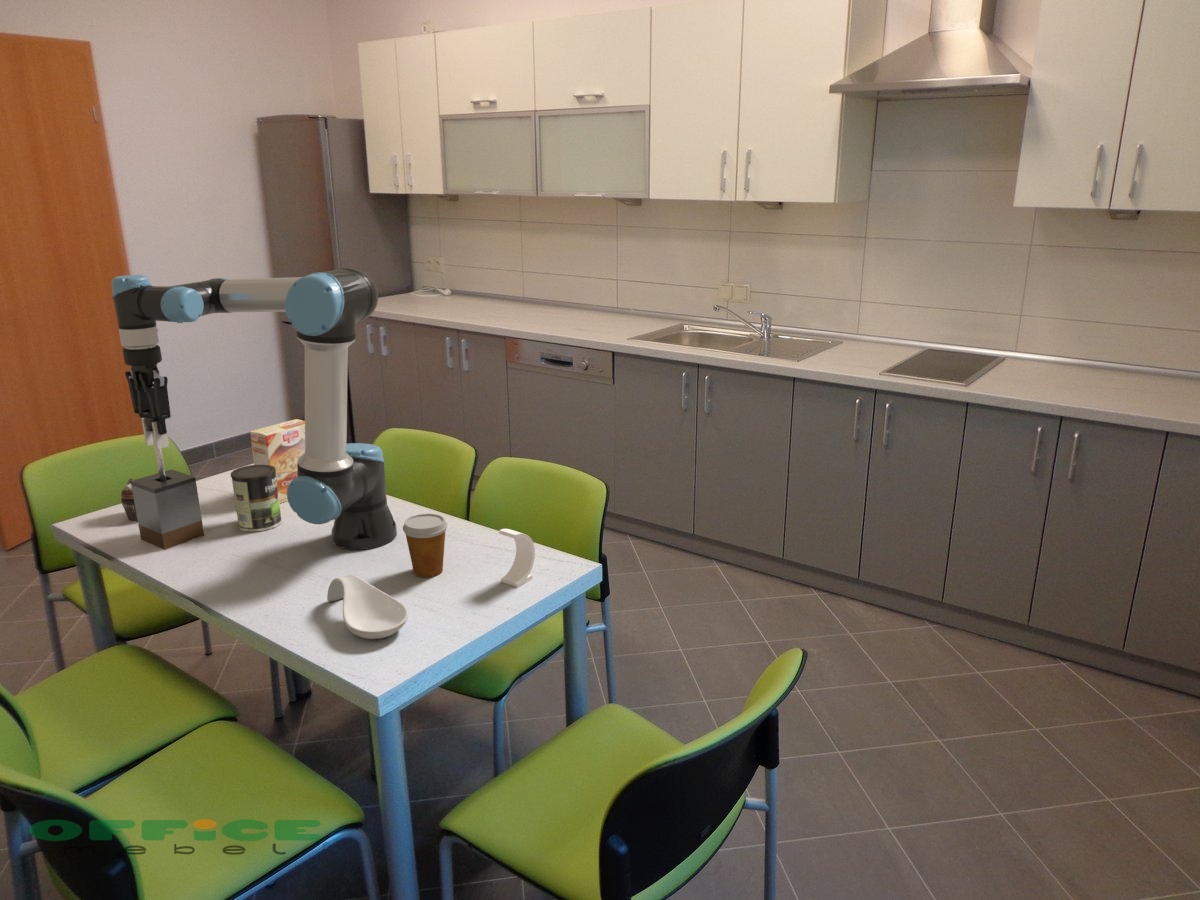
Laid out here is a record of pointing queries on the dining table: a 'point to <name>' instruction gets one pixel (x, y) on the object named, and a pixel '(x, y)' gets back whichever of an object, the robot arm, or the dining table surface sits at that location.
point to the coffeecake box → (280, 451)
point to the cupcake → (129, 502)
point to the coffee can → (256, 497)
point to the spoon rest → (367, 608)
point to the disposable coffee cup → (426, 543)
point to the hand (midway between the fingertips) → (157, 445)
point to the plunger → (157, 451)
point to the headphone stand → (520, 558)
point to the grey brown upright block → (167, 509)
